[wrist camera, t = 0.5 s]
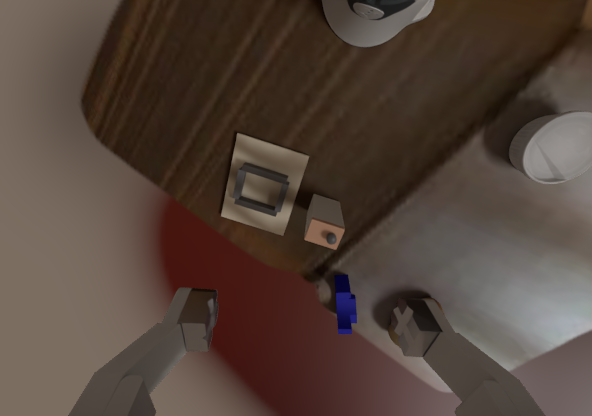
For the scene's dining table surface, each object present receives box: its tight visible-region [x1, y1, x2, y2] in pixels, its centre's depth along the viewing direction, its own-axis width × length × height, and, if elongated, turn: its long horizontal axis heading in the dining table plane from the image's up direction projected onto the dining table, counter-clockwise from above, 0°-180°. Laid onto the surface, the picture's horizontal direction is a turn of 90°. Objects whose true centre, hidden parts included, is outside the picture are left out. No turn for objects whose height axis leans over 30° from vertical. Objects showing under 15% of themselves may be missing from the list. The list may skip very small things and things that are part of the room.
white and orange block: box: [304, 194, 345, 250], centre depth 44 cm, size 4×6×13 cm
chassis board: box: [221, 133, 309, 235], centre depth 49 cm, size 18×14×3 cm
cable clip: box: [335, 275, 357, 334], centre depth 56 cm, size 12×4×6 cm, turn 6°
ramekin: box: [509, 111, 592, 184], centre depth 40 cm, size 11×11×5 cm
